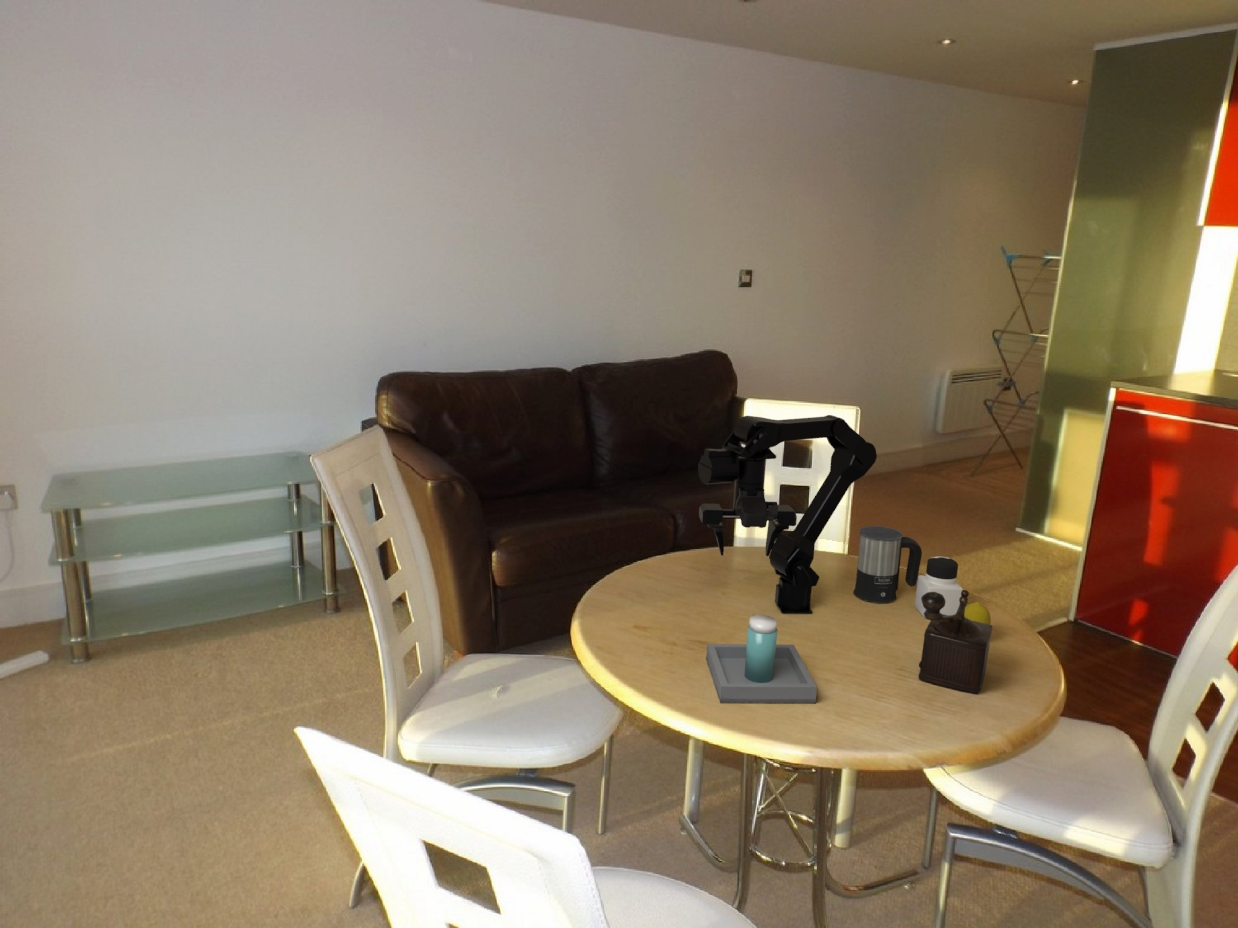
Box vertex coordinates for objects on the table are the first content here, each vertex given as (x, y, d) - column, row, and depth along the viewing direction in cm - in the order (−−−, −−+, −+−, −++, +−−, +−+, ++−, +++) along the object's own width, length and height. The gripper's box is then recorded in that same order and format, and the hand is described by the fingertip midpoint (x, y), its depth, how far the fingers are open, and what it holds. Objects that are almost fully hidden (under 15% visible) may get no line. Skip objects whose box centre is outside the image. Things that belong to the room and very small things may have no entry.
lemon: (988, 637, 175) (993, 599, 173) (987, 648, 170) (992, 609, 168) (958, 631, 177) (963, 594, 175) (956, 642, 172) (961, 604, 171)
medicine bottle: (959, 620, 183) (966, 566, 180) (924, 619, 183) (931, 564, 180) (947, 607, 190) (954, 554, 187) (914, 605, 190) (920, 552, 187)
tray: (792, 659, 163) (793, 644, 162) (815, 703, 147) (817, 687, 147) (706, 658, 162) (707, 643, 161) (720, 703, 147) (721, 686, 146)
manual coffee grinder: (924, 657, 166) (935, 566, 162) (987, 672, 161) (1000, 578, 156) (907, 691, 153) (919, 594, 148) (975, 708, 148) (989, 608, 143)
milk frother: (869, 606, 189) (877, 540, 185) (826, 580, 203) (832, 518, 199) (923, 598, 194) (931, 534, 190) (877, 573, 208) (884, 513, 205)
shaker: (759, 666, 158) (764, 612, 155) (779, 678, 154) (784, 622, 151) (738, 673, 155) (742, 617, 153) (757, 685, 151) (762, 629, 149)
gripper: (708, 490, 167) (704, 568, 171) (806, 492, 168) (799, 570, 172) (700, 475, 178) (696, 549, 181) (792, 477, 179) (786, 550, 182)
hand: (744, 555), depth 179 cm, fingers open, 9 cm apart
